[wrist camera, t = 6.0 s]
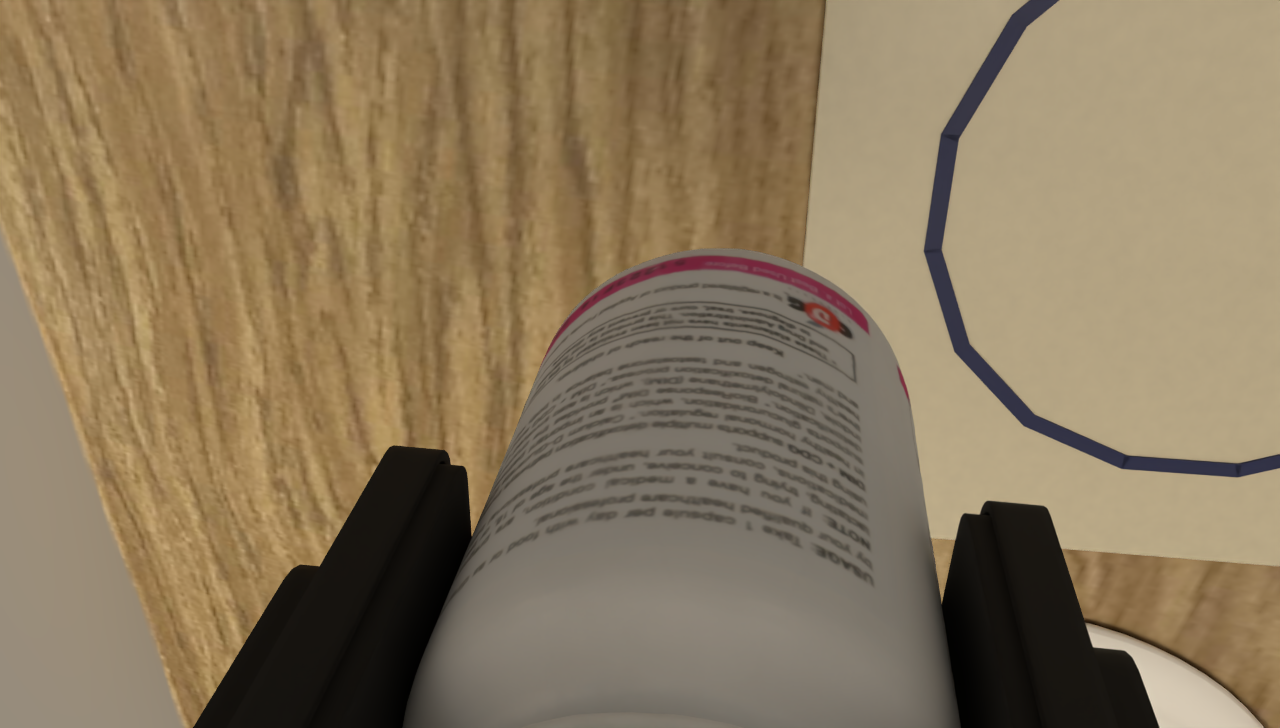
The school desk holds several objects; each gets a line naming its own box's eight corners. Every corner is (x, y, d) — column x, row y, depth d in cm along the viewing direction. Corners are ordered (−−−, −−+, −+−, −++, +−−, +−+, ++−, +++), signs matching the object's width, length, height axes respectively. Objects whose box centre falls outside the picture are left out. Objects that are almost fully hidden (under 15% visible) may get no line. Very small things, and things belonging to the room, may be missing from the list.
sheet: (853, -315, 21) (854, -316, 20) (2036, -313, 19) (2056, -314, 18) (780, 519, 31) (780, 527, 31) (1545, 581, 29) (1553, 590, 28)
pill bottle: (469, 366, 15) (136, 994, 7) (760, 161, 13) (705, 736, 5) (689, 597, 16) (596, 1309, 9) (979, 446, 14) (1166, 1193, 7)
